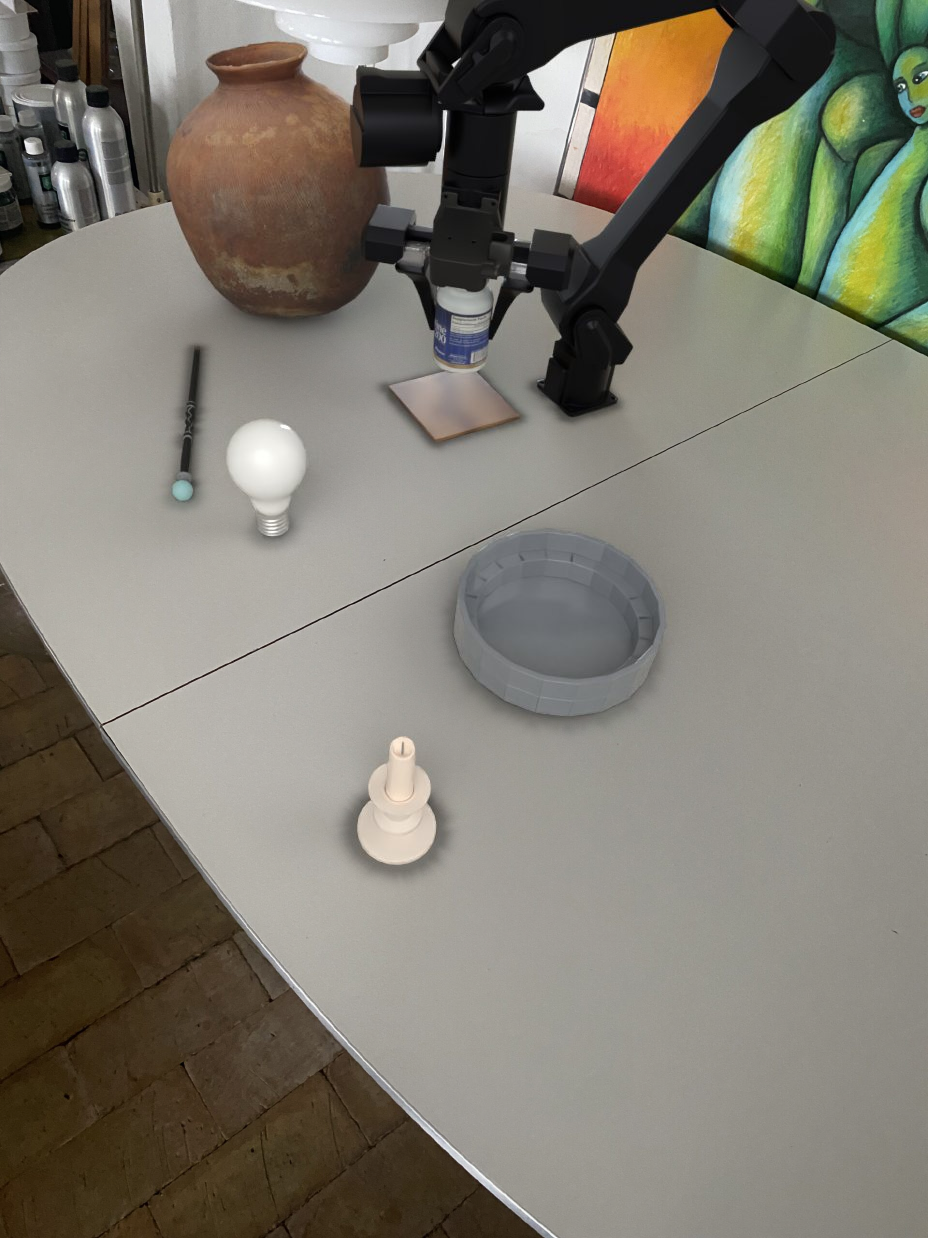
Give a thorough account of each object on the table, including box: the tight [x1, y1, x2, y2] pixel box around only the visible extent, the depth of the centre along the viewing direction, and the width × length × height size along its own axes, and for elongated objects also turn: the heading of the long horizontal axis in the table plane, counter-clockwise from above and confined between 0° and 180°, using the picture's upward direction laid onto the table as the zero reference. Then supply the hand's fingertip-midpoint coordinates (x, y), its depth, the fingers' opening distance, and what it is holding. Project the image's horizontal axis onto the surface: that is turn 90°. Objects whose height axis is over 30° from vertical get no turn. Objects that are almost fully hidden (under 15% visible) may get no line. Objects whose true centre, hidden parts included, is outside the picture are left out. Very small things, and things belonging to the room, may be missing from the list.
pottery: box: [165, 40, 392, 319], centre depth 92 cm, size 23×23×25 cm
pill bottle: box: [432, 279, 495, 374], centre depth 83 cm, size 5×5×10 cm
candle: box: [356, 736, 437, 866], centre depth 54 cm, size 5×5×10 cm
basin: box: [452, 528, 667, 718], centre depth 69 cm, size 16×16×4 cm
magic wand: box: [171, 345, 200, 502], centre depth 84 cm, size 2×25×2 cm
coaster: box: [388, 370, 521, 444], centre depth 90 cm, size 10×10×1 cm
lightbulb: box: [225, 417, 308, 537], centre depth 71 cm, size 6×6×11 cm
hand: (461, 333), depth 84 cm, fingers closed on pill bottle, 5 cm apart
